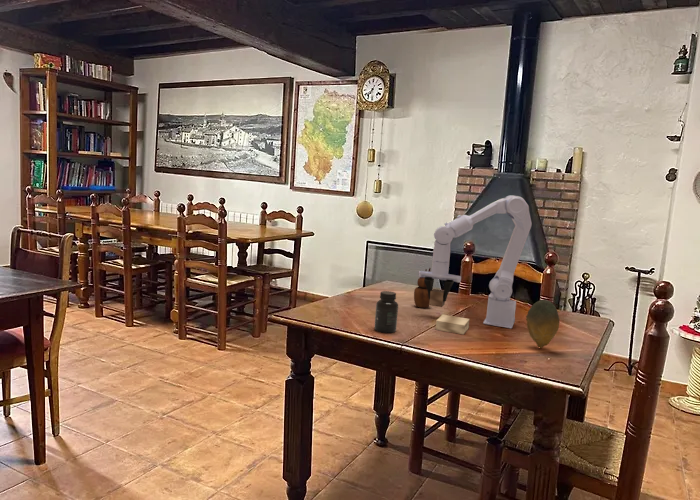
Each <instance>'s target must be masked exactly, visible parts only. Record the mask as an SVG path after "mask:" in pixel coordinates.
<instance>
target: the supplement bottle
mask: <svg viewBox="0 0 700 500" xmlns="http://www.w3.org/2000/svg"><path fill="white" fill-rule="evenodd" d="M396 299H397V293H396V292H394V291H389V290H383V291H380V295H379V299H378V300H377V301H376V304H375V314H374V315H375V317H374V330H375V331H376V332H378V333H382V334H383V333H384V334H392V333H395V332H396V331H397V327H398V326H397V323H398V314H399V313H398V312H399V303H398V302H397V300H396Z"/></svg>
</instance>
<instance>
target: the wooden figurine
mask: <svg viewBox="0 0 700 500" xmlns="http://www.w3.org/2000/svg"><path fill="white" fill-rule="evenodd" d="M424 271H427V272H431V267H429V269H428V270H427V268H425V269H424ZM424 279H425V277H418V279H417V282H416V283H417V286H416V287H415V289H414V291H413V300H414V304H415V306H416V307H418V308H420V309H427V308H428V307H430V305H429V302H430V299H429V296H428V291H427V287H426V284H425V282H424Z"/></svg>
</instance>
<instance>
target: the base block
mask: <svg viewBox="0 0 700 500" xmlns="http://www.w3.org/2000/svg"><path fill="white" fill-rule="evenodd" d="M469 328H470V318H465V317H462V316H461V317H459V316H454V315H449V314H441V316H439V317H438V318H437V319H436V321H435V330H437V331H440V332H441V331H442V332H448V333H453V334H456V335H457V334H459V335H465V334H466V332H467V331H468V330H469Z"/></svg>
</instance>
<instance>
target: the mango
mask: <svg viewBox="0 0 700 500" xmlns="http://www.w3.org/2000/svg"><path fill="white" fill-rule="evenodd" d="M525 317H526V318H525V319H526V327H527V330H528V334H529V337H531V340H533V342H535V344H536V345H537V347H540V348H542V349H543V348H544V347H545V346H548V345H549V344H550V342H551V341H552V340H553V339H554V337H555V336H556V334H557V333H558V331H559V327H560V322H561V321H560V316H559V312H558V309H557V307H556V306H555V304H554V303H553V302H552V301H550V300H547V299H540V300H537V301H535V303H533V304H532V306H530V308H529V309H528V312H527V315H526V316H525Z"/></svg>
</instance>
